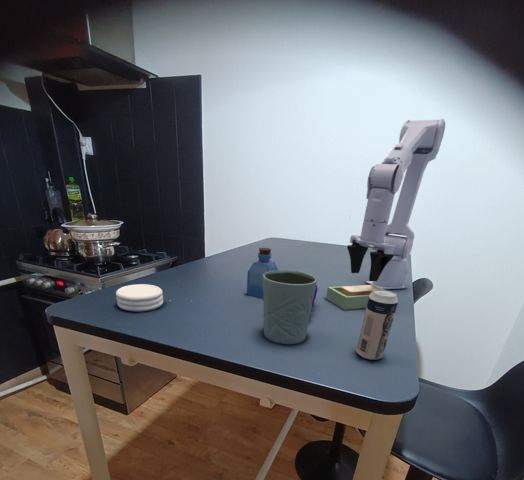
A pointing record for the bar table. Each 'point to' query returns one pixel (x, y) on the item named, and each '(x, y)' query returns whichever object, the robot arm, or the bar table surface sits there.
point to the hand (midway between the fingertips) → (363, 276)
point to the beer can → (377, 324)
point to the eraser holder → (347, 298)
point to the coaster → (139, 297)
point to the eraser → (357, 290)
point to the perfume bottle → (259, 273)
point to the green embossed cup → (287, 305)
